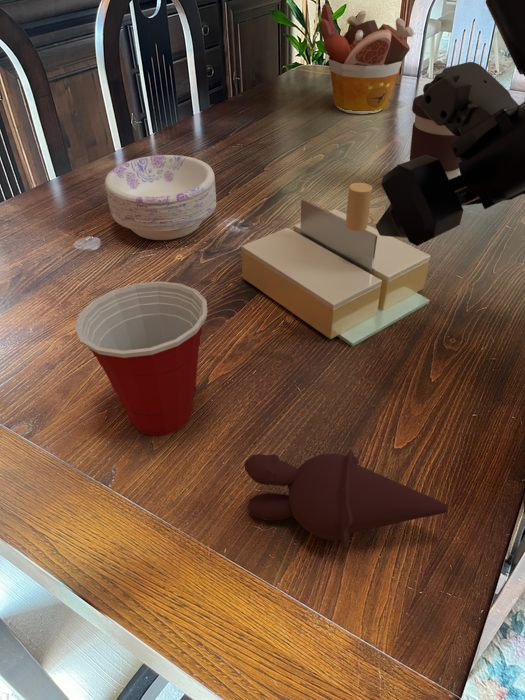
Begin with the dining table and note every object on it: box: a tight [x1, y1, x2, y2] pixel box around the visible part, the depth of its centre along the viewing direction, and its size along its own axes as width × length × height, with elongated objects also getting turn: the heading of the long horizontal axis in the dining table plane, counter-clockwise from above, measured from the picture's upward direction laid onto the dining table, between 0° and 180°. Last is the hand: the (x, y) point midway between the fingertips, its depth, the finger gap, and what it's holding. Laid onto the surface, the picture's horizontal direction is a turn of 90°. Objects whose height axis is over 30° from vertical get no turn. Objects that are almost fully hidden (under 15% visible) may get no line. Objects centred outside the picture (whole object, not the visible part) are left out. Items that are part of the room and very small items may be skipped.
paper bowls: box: [104, 154, 217, 241], centre depth 79 cm, size 15×15×8 cm
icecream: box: [244, 449, 449, 549], centre depth 41 cm, size 7×7×15 cm
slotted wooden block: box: [240, 208, 432, 348], centre depth 67 cm, size 20×16×5 cm
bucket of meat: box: [318, 3, 415, 111], centre depth 119 cm, size 20×16×20 cm
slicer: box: [300, 182, 377, 275], centre depth 63 cm, size 12×2×10 cm, turn 38°
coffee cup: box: [409, 93, 461, 180], centre depth 87 cm, size 10×10×15 cm
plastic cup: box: [74, 280, 208, 437], centre depth 49 cm, size 11×11×12 cm
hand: (410, 216), depth 55 cm, fingers open, 9 cm apart
